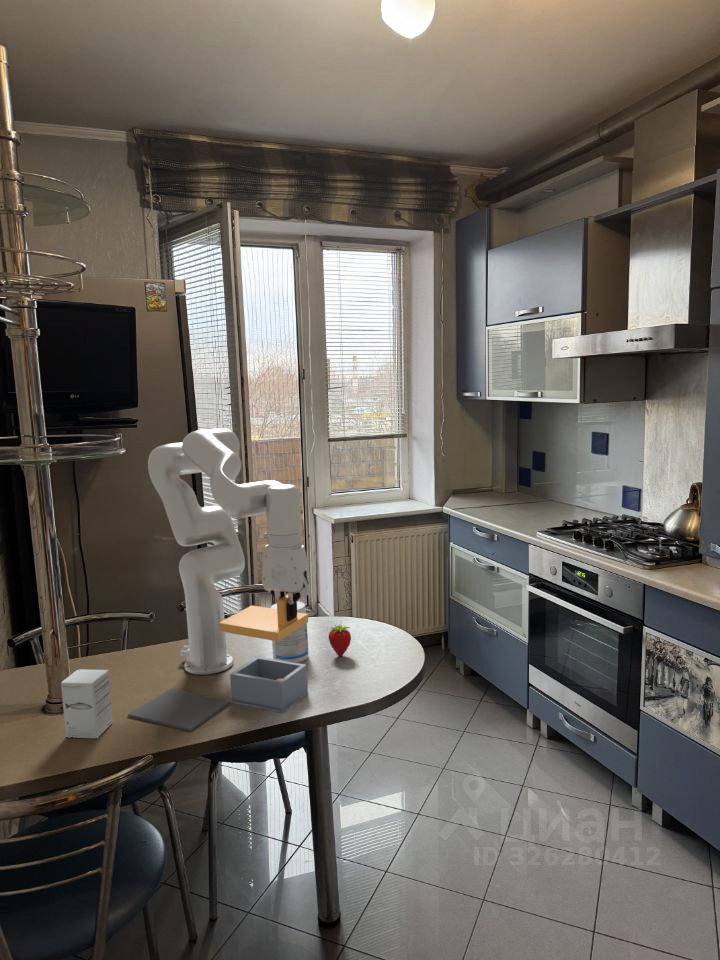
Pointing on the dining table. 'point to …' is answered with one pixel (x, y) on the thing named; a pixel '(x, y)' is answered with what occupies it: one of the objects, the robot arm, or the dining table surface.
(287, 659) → the supplement tub
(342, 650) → the strawberry
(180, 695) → the mat
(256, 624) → the lid
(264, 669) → the parts tub
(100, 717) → the supplement box
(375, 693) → the dining table surface
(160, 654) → the dining table surface
